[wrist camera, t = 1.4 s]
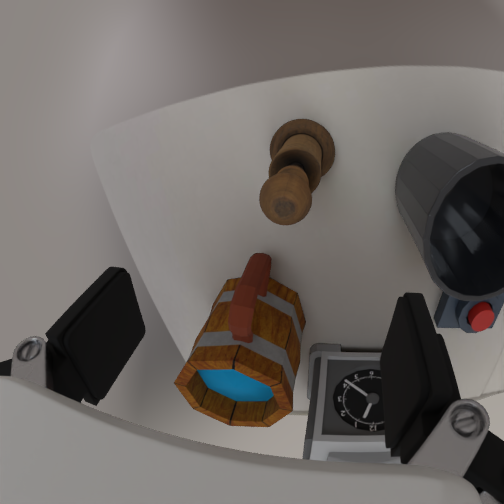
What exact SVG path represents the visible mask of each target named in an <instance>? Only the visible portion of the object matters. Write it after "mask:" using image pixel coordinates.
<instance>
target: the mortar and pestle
mask: <svg viewBox="0 0 504 504" xmlns="http://www.w3.org/2000/svg"><path fill="white" fill-rule="evenodd" d="M270 155H271V159H272V162H271V164H270V167H269V179H268V180H267V181H266V182H265V183H264V185H263V186H262V189H261V191H260V206H261V209H262V211H263V213H264V214H265V215H266V217H267V218H268V219H269V220H271V221H272V222H274V223H276V224H280V225H292V224H295V223H297V222H299V221H301V220H302V219H303V218H304V217H305V216H306V215H307V214H308V212H309V210H310V208H311V204H312V195H311V193H312V192H313V191H314V190H315V189H316V188H317V186H318V184H319V182H320V179H321V177H322V176H324V175H325V174H326V173H327V172H328V171H329V169H330V168H331V166H332V164H333V161H334V157H335V147H334V142H333V139H332V137H331V135H330V134H329V132H328V131H327V130H326V129H325V128H324V127H323V126H321V125H320V124H318V123H317V122H314V121H312V120H308V119H296V120H292V121H289V122H287V123H285V124H284V125H283V126H281V127H280V128H279V129H278V130H277V132H276V133H275V134H274V136H273V138H272V140H271V144H270Z"/></svg>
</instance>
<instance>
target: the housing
mask: <svg viewBox="0 0 504 504" xmlns="http://www.w3.org/2000/svg"><path fill="white" fill-rule="evenodd" d="M480 302H486V303H488V304H489V305H490V307H491V309H492V311H493V313H494V320H493V322H492V324H491V325H490V326H489V327H488V328H492V327H493V325H494V323H495V321H496V319H497V317H498V314H499V312H500V310H501V308H502V306H503V303H504V292H503V293H502V294H500V295H498V296H496V297H492V298H489V299H485V300H482V301H463V300H459V299H457V298H455V297H452V296H450V295H447V294H446V293H444V292H443V293H442V296H441V299H440V302H439V305H438V307H437V310H436V313H435V315H434V320H435V323H436V326H437V328H461V329H462V330H463V331H465V332H466V333H477V332H479V331H474V330H473V329H472V327H471V325H470V322H469V320H468V313H469V311H470V309H471V308H472V307H473V306H474V305H476V304H478V303H480Z"/></svg>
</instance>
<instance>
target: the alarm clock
mask: <svg viewBox="0 0 504 504" xmlns="http://www.w3.org/2000/svg"><path fill="white" fill-rule="evenodd" d="M380 357H381V353H362V352H341V344H315V345H313V346H312V347H311V348H310V359H309V376H308V390H307V398H308V399H309V400H310V405H309V413H308V421H307V428H306V435H305V442H304V452H303V459H307V460H319V461H333V462H354V463H388V464H402V463H401V462H400V457H391V451H390V448H386V446H385V426H384V408H383V394H382V382H381V371H380Z"/></svg>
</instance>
